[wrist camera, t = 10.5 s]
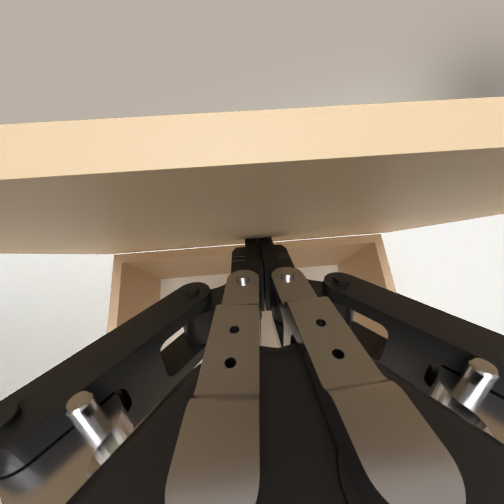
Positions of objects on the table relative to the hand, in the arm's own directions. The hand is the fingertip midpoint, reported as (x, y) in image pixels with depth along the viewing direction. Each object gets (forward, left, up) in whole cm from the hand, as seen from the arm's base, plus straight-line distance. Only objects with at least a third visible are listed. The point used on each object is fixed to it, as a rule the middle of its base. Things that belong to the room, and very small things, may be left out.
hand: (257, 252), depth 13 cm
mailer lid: (0, 0, +4) cm, 4 cm away
